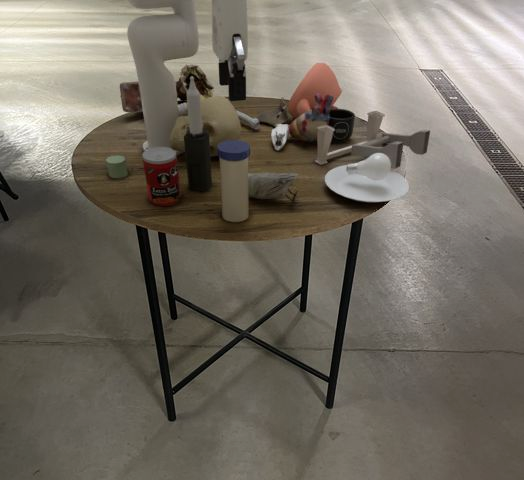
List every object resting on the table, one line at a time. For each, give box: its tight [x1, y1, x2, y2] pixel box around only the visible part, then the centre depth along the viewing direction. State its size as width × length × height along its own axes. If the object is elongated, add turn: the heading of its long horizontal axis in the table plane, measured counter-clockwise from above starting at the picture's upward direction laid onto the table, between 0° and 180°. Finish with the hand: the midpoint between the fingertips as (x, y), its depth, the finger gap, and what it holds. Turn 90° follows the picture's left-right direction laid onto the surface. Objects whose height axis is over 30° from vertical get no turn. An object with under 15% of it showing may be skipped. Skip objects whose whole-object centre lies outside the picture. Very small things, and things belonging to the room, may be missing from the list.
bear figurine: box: [176, 64, 215, 103], centre depth 164 cm, size 14×15×12 cm
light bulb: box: [178, 95, 205, 117], centre depth 154 cm, size 6×6×10 cm
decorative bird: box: [249, 172, 300, 205], centre depth 114 cm, size 5×16×7 cm, turn 77°
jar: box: [218, 156, 250, 223], centre depth 106 cm, size 6×6×15 cm
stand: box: [105, 155, 129, 179], centre depth 124 cm, size 5×5×4 cm
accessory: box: [287, 136, 318, 147], centre depth 143 cm, size 9×9×1 cm
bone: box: [235, 109, 261, 131], centre depth 151 cm, size 18×5×4 cm
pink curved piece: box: [287, 62, 343, 119], centre depth 149 cm, size 25×17×13 cm
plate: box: [324, 164, 410, 204], centre depth 120 cm, size 21×21×2 cm
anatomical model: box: [288, 94, 333, 143], centre depth 137 cm, size 10×9×15 cm
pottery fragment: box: [253, 96, 289, 128], centre depth 155 cm, size 18×11×5 cm, turn 2°
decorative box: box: [119, 80, 178, 113], centre depth 154 cm, size 13×20×10 cm
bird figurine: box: [270, 123, 290, 151], centre depth 140 cm, size 5×7×10 cm
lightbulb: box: [346, 153, 392, 180], centre depth 119 cm, size 6×6×11 cm
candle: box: [184, 76, 213, 193], centre depth 112 cm, size 5×5×25 cm
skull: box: [170, 95, 242, 158], centre depth 132 cm, size 14×17×20 cm
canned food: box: [142, 147, 182, 207], centre depth 112 cm, size 8×8×11 cm
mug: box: [328, 108, 356, 143], centre depth 143 cm, size 12×9×7 cm
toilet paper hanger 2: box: [350, 129, 431, 170], centre depth 132 cm, size 22×13×6 cm, turn 143°
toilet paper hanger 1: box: [314, 110, 386, 166], centre depth 133 cm, size 23×9×4 cm
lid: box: [217, 139, 251, 161], centre depth 101 cm, size 7×7×2 cm
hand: (232, 92), depth 93 cm, fingers open, 9 cm apart
